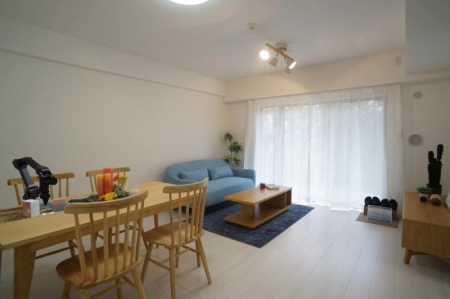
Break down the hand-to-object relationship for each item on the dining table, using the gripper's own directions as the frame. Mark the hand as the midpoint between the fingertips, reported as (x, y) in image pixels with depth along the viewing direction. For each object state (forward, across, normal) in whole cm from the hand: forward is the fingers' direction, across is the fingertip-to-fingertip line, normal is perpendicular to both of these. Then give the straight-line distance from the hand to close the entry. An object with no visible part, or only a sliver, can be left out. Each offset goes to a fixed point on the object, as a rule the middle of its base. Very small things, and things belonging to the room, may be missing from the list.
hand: (45, 204), depth 173 cm
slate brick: (+2, 0, 0) cm, 2 cm away
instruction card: (+2, +17, +1) cm, 17 cm away
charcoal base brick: (+2, +12, +8) cm, 15 cm away
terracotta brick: (-2, +12, +8) cm, 14 cm away
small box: (+3, +15, -8) cm, 17 cm away
